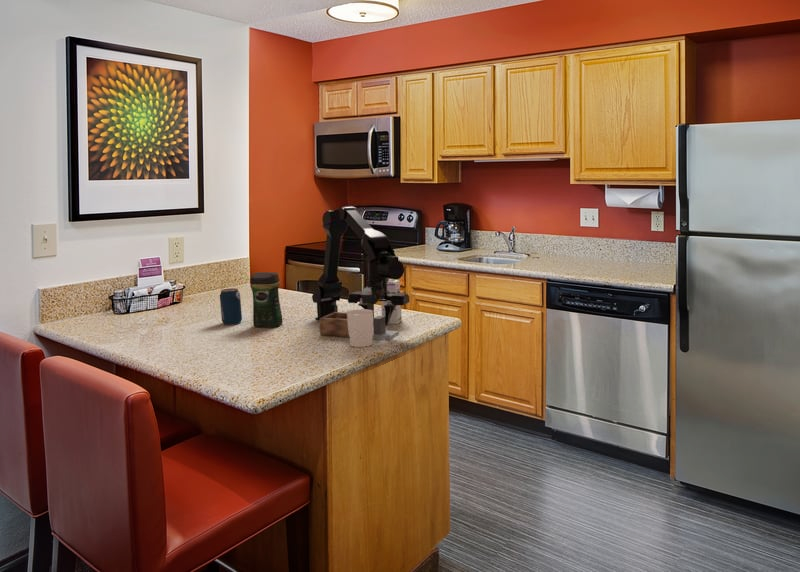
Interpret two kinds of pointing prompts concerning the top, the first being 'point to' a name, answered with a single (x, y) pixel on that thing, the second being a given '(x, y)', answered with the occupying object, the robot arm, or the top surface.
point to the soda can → (230, 306)
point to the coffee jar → (266, 299)
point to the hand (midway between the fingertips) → (379, 325)
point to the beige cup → (360, 327)
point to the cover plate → (386, 335)
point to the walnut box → (334, 325)
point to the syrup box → (394, 288)
